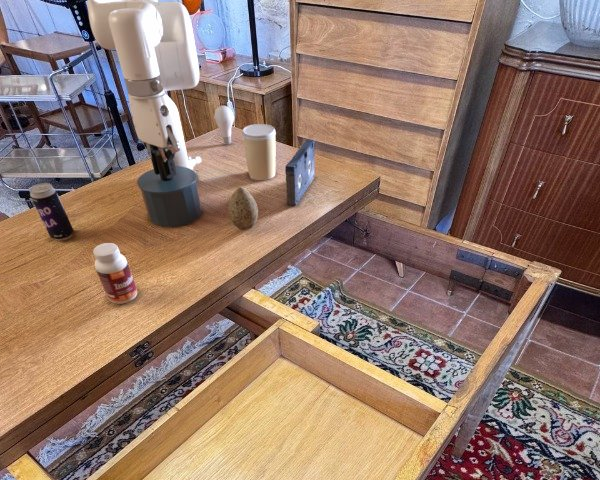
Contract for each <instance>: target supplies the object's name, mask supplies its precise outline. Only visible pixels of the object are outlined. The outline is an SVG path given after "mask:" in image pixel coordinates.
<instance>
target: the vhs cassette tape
mask: <svg viewBox="0 0 600 480" xmlns="http://www.w3.org/2000/svg"><path fill="white" fill-rule="evenodd" d="M315 154H316V143H315V139H306V140H305V141H304V142H303V144H302V145H301V146H300V147H299V148H298V150H297V151H296V152H295V154H294V155H293V156H292V158H291V159H290V160H289V162H288V163H287V164H286V165H285V186H286V204H287V205H288V206H295V207H296V206H297V205H298V203H299V202H300V200H301V199H302V197H303V196H304V194H305V193H306V191H307V190H308V188H309V187H310V185H311V184H312V182H313V180H314V179H315V177H316V176H315V175H316V173H315V172H316V170H315V168H316V157H315V156H316V155H315Z"/></svg>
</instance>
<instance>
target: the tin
mask: <svg viewBox="0 0 600 480" xmlns="http://www.w3.org/2000/svg"><path fill="white" fill-rule="evenodd" d="M140 192H141V196H142V199H143V203H144V205H145V209H146V212H147V216H148V218H149V220H150V222H151V223H153V225H156V226H160V227H164V228H177V227H183V226H186V225H189V224H191V223H193V222H195V221H196V220H198V219H199V218H200V217H201V215H202V204H201V197H200V193H199V189H198V183H197V182H196V183H195V184H194V185H193V186H191V187H190V188H188V189H186V190H183V191H181V192H177V193H172V194H163V195H158V194H150V193H146V192H144V191H142V190H141V189H140Z"/></svg>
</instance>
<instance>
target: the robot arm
mask: <svg viewBox="0 0 600 480" xmlns="http://www.w3.org/2000/svg"><path fill="white" fill-rule="evenodd" d="M86 1H87V12H88V20H89V26H90V29H91V32H92V35H93V37H94V39H95V40H96V42H97V44H98V45H99V46H100V47H102V48H103V49H105V50H108V51H109V50H110V51H111V50H113V51H114V50H116V55H117V58H118V61H119V65H120V68H121V74H122V77H123V81H124V83H125V88H126V91H127V95H128V103H129V109H130V113H131V118H132V122H133V126H134V130H135V133H136V136H137V139H138V141H139V142H140V143H141V144H142V145H143V147H144V148H145V150H146V151H147V155H148V156H149V157H150V160H151V164H152V167H153V168H152V169H154V172H155V174H156V175H158V174H159V170H158V166H157V162H156V158H155V154H154V153H155V152H156V151H159V150H160V152H161V155H162V158H163V161H162V165H163V169H164V173H165V177H166V178H167V179H169V178H171V177H173V176H175V175H176V174H177V172H176V168H175V166H182V167H186V168H189V169H192V170H193V171H194V172H195V173H196V175H197V172H196V170H194V168H195V166H198V165H199V164H201V163H202V157H201V156H199V155H196V156H194V157H193V158H192V157H191V156H188V152H187V147H186V141H185V137H184V132H183V127H182V121H181V118H180V112H179V109H178V107H177V105H176V104H175V102H174V101H173V100H172V98H171V97H169V95H168V94H167V93H166V92H169V91H180V90H189V89H193V88H195V87H197V86H198V84H199V83H200V66H199V59H198V54H197V53H198V52H197V49H196V42H195V36H194V28H193V24H192V20H191V16H190V14H189V11H188V9H187V7H186V6H185V5H184V4H183V3H181V2H180V1H175V0H173V1H172V0H168V1H159V0H86ZM165 151H167V152H165ZM197 176H198V175H197Z"/></svg>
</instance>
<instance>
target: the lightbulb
mask: <svg viewBox="0 0 600 480" xmlns="http://www.w3.org/2000/svg"><path fill="white" fill-rule="evenodd" d="M213 115H214V116H213V118H214V122H215V124H216V125H217V127H218V129H219V131H220V134H221V137H222V141H223V143H224V144H225V146H228V145H230V144H231V143H232V127H233V124H234V122H235V121H234V120H235V116H234V112H233V111H232V109H231V108H230V107H228V106H227V105H219V106H218V107H216V109H215V111H214V114H213Z"/></svg>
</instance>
